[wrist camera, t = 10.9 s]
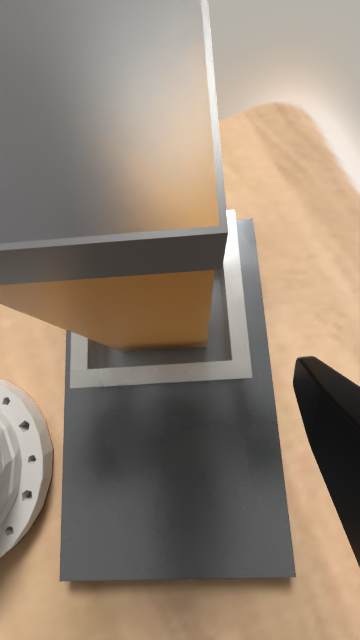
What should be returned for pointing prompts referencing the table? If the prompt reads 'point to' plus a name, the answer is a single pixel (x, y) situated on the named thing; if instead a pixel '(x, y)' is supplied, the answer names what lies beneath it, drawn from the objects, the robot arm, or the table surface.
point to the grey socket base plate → (178, 448)
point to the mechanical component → (21, 464)
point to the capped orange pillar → (111, 169)
